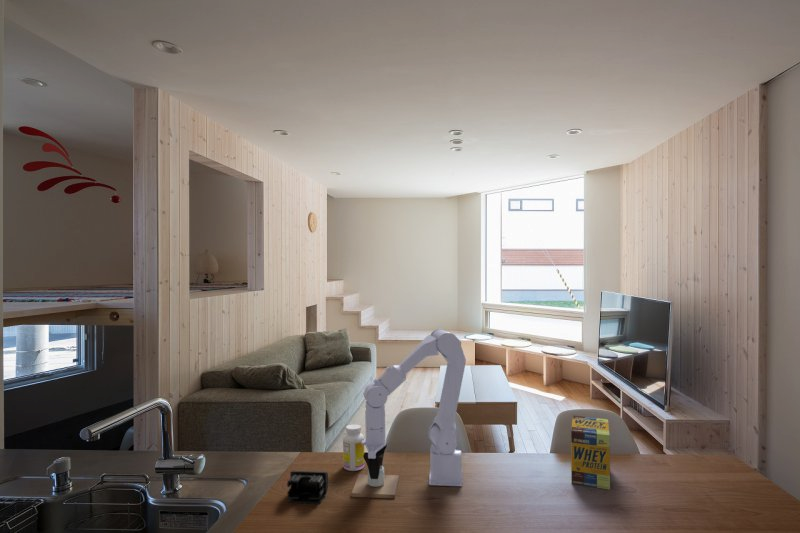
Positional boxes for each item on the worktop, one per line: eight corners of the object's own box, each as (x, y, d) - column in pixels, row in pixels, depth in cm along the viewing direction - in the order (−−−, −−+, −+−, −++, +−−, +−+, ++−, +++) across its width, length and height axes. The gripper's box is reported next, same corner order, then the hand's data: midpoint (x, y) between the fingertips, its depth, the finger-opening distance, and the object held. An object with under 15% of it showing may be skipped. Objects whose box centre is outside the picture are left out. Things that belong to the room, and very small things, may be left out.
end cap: (328, 491, 134) (328, 467, 134) (322, 504, 127) (321, 479, 127) (294, 490, 135) (293, 467, 135) (285, 503, 128) (285, 478, 128)
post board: (399, 478, 142) (398, 467, 142) (394, 498, 130) (394, 485, 130) (359, 477, 143) (359, 466, 143) (351, 496, 131) (351, 484, 131)
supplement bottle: (366, 463, 153) (365, 423, 153) (362, 472, 147) (362, 430, 147) (345, 462, 154) (345, 423, 154) (341, 471, 147) (340, 430, 147)
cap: (385, 480, 139) (384, 463, 139) (382, 486, 134) (382, 469, 134) (369, 479, 139) (369, 463, 140) (366, 486, 135) (366, 469, 135)
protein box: (571, 484, 137) (570, 430, 137) (573, 463, 151) (572, 414, 151) (610, 490, 133) (610, 435, 133) (609, 468, 148) (608, 418, 148)
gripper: (365, 418, 144) (366, 462, 144) (356, 435, 130) (357, 484, 130) (389, 418, 144) (389, 463, 144) (382, 435, 129) (383, 485, 129)
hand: (376, 473), depth 137 cm, fingers open, 5 cm apart
